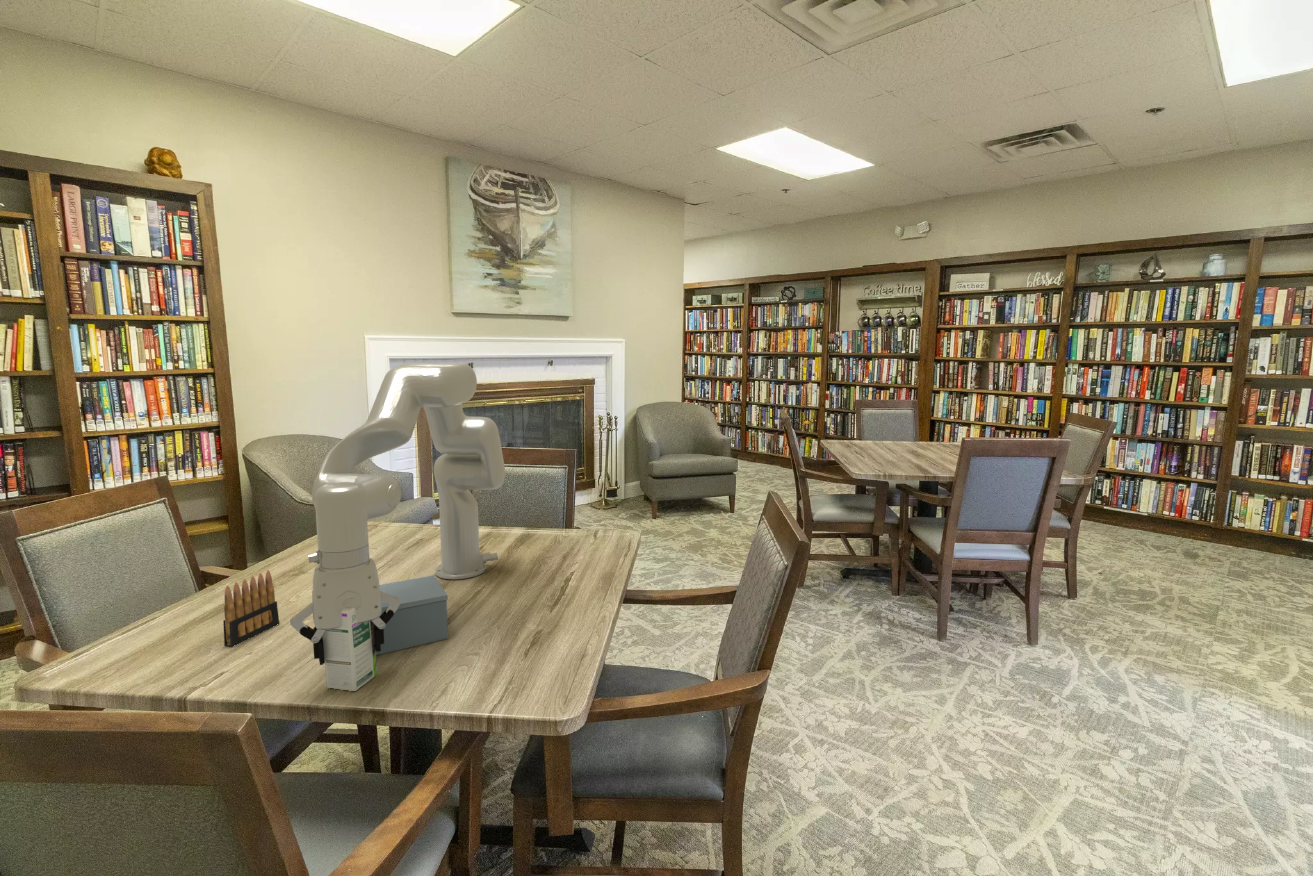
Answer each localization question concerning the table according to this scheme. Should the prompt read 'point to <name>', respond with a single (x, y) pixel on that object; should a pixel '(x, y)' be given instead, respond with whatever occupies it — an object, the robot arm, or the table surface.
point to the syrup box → (349, 653)
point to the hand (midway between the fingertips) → (350, 654)
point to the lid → (414, 592)
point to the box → (415, 626)
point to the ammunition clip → (249, 610)
